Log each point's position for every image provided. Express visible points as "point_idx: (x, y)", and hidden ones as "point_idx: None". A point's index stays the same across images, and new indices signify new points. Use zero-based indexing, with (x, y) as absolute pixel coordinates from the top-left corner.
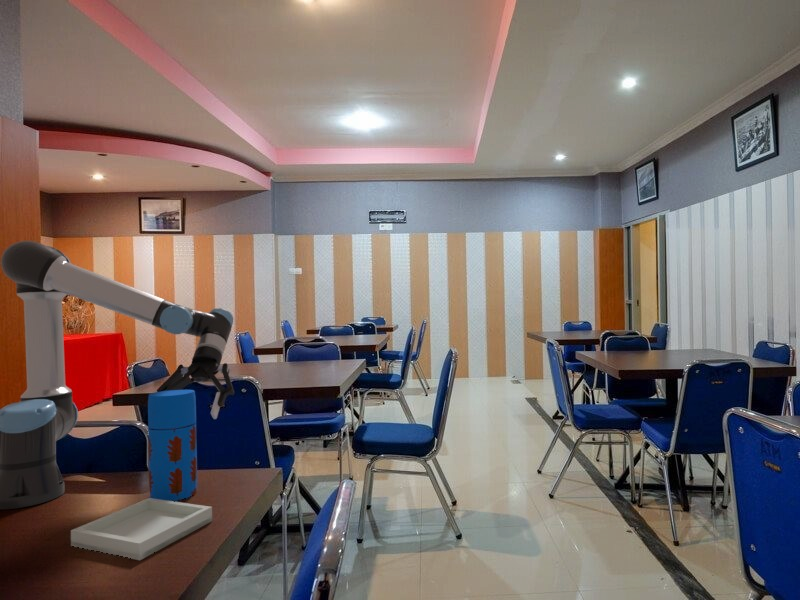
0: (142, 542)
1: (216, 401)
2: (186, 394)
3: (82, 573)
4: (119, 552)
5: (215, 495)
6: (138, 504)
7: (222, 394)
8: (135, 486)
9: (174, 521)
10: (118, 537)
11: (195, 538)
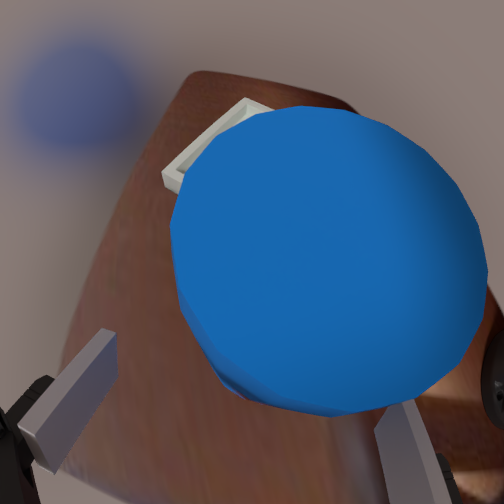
0: (242, 99)
1: (62, 373)
2: (220, 137)
3: (295, 106)
4: None
5: (165, 316)
6: None
7: (14, 422)
8: (374, 433)
9: None
10: None
11: (186, 142)
